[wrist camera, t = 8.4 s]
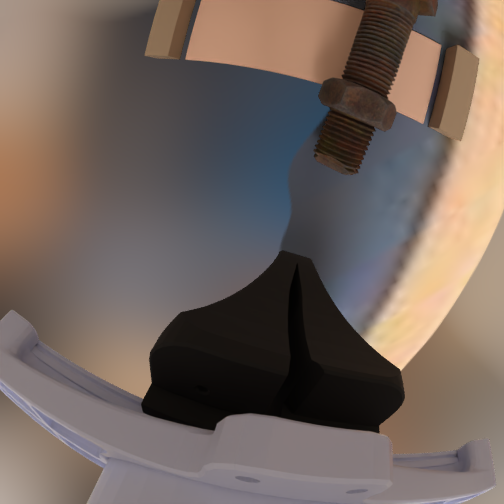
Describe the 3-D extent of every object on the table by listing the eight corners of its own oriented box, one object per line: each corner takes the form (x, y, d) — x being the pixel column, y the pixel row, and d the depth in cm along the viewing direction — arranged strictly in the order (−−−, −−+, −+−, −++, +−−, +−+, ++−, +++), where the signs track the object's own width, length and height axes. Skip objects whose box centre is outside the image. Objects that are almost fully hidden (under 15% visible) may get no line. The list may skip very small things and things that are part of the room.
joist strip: (448, 137, 16) (461, 141, 14) (157, 58, 17) (144, 55, 15) (466, 61, 12) (479, 58, 10) (178, -14, 14) (167, -22, 12)
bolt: (321, 152, 20) (379, -7, 12) (378, 183, 18) (441, 11, 10) (278, 149, 16) (349, -48, 8) (350, 187, 14) (428, -34, 6)
